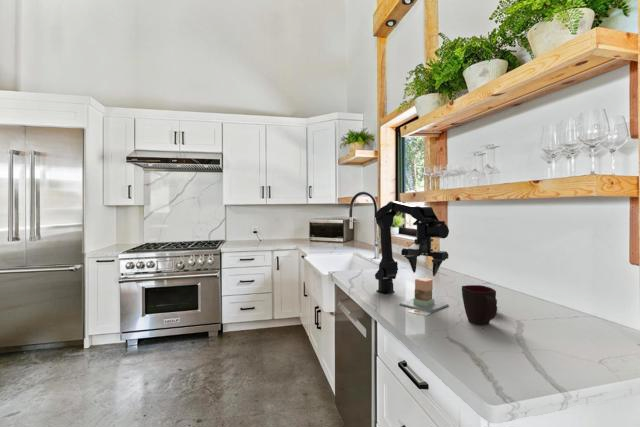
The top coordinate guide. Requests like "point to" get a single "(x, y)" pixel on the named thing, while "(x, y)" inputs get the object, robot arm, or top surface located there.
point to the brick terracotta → (423, 284)
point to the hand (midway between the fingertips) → (423, 274)
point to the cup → (479, 304)
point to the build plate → (427, 309)
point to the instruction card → (419, 312)
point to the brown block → (423, 295)
